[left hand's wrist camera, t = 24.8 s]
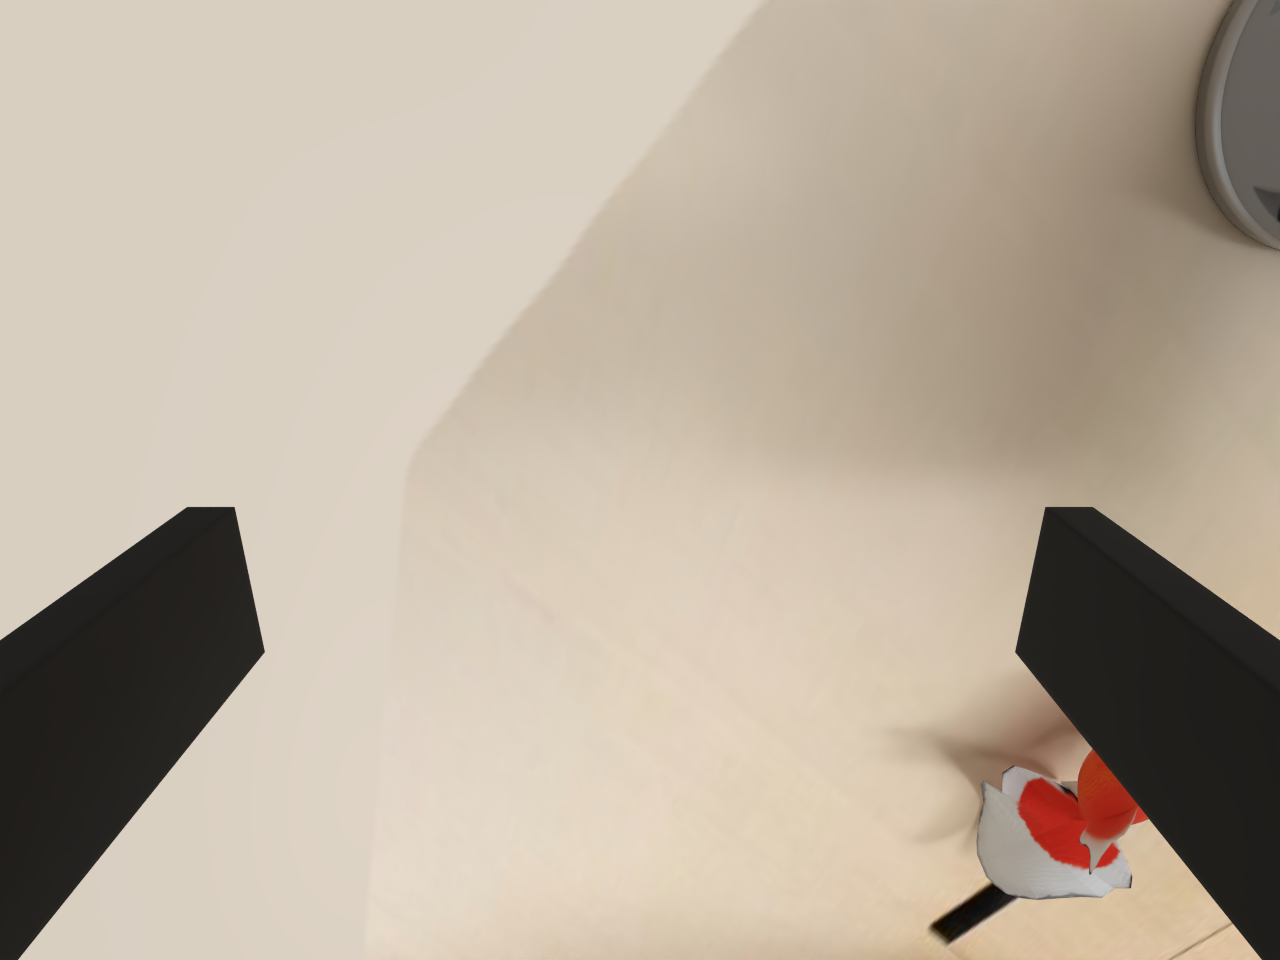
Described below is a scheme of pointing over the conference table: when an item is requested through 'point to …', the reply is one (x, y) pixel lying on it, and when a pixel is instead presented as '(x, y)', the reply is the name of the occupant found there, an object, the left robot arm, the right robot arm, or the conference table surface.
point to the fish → (1056, 833)
